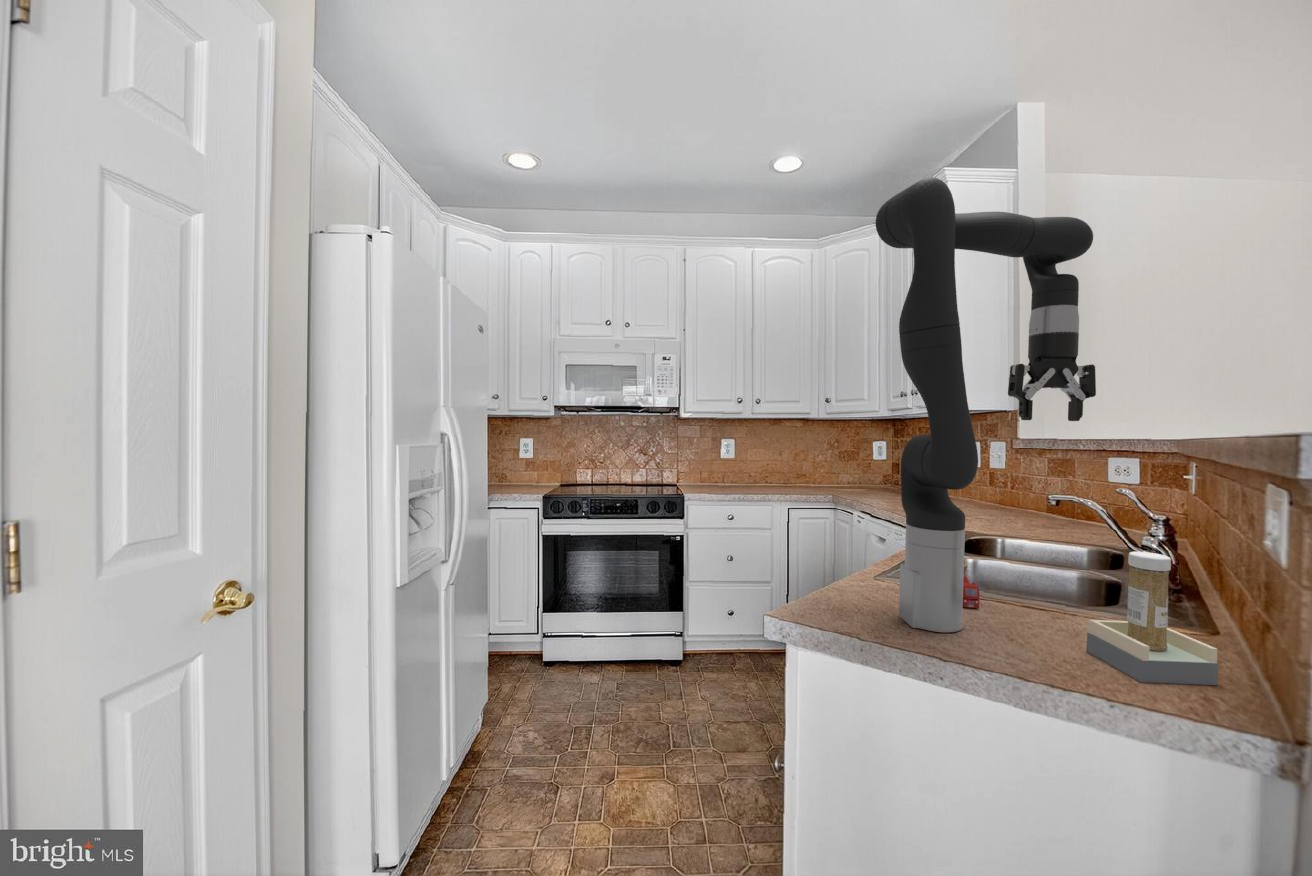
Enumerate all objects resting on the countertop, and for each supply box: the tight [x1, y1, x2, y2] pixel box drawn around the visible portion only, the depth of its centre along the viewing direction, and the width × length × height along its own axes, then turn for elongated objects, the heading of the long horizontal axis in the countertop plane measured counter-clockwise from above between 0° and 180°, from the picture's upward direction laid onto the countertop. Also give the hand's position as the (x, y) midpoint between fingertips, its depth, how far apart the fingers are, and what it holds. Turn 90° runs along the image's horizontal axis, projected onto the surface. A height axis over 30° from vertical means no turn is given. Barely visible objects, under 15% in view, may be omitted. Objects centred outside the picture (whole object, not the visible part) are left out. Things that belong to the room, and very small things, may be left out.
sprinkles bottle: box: [1126, 551, 1172, 651], centre depth 79 cm, size 5×5×14 cm
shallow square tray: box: [1086, 619, 1219, 686], centre depth 79 cm, size 10×10×5 cm
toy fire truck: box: [963, 558, 980, 609], centre depth 109 cm, size 3×14×10 cm, turn 169°
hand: (1050, 420), depth 101 cm, fingers open, 8 cm apart
